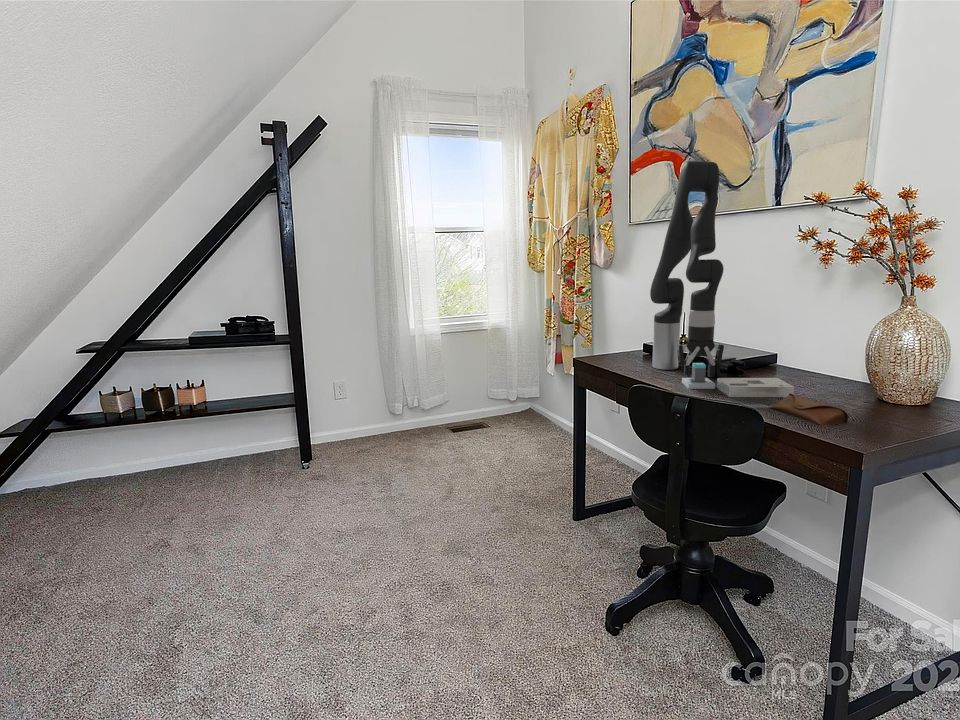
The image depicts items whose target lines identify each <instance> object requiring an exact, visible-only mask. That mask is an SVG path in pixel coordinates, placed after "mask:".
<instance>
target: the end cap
mask: <svg viewBox="0 0 960 720" xmlns="http://www.w3.org/2000/svg"><path fill="white" fill-rule="evenodd" d="M738 367H743V368H745V367H746V362H745V361H742V360H737V358H736V357H730V358H724V359H723V358H722V360H721V363H718V364H715V366H714V375H712V377H711V378H733V377H735V378H743V376H745V370H743V369H739V368H738Z"/></svg>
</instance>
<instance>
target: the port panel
mask: <svg viewBox="0 0 960 720" xmlns="http://www.w3.org/2000/svg"><path fill="white" fill-rule="evenodd" d="M716 378H717V379H716V388H717V389H718V390H719V391H721V392H722V393H723V394H724V395H726V396H728V397H729V398H782V399H784V398H785V397H787V396H788V395H789V393H791V394H794V393H795V386H794V385H791V384H789V383H788V382H786V381H784V380H782V379H781V378H779V377H732V378H720V377H716ZM794 395H795V394H794Z"/></svg>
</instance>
